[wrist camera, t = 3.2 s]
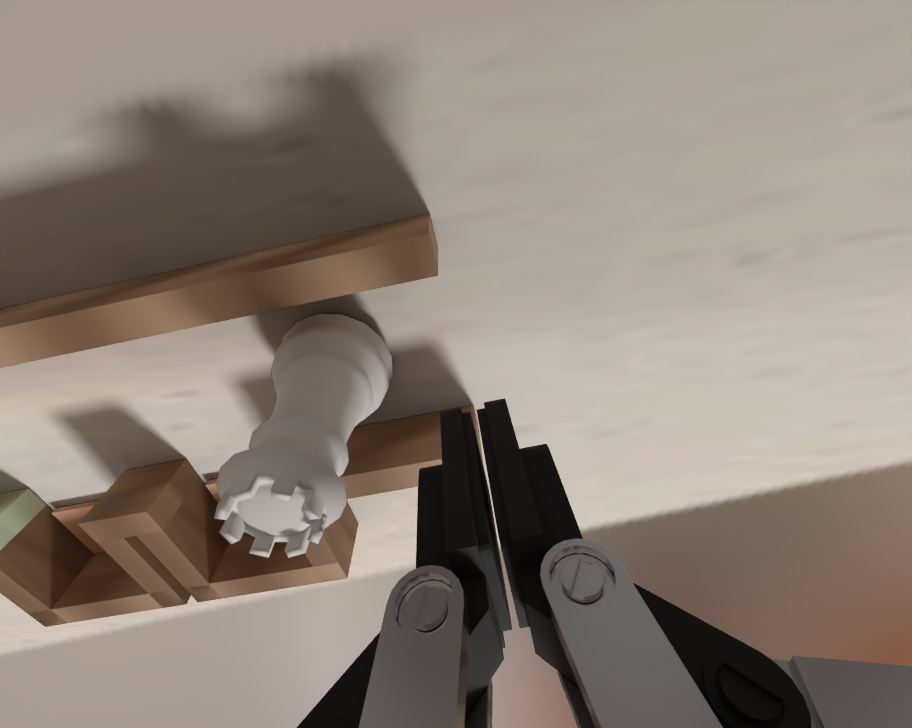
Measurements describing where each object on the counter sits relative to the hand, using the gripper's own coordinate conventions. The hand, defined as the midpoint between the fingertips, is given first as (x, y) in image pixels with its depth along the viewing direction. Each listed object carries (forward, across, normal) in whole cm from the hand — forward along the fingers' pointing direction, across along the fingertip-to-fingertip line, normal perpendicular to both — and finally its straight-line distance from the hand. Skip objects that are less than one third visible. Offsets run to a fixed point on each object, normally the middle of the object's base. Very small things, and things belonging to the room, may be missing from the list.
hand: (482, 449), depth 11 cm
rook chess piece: (+7, +5, 0) cm, 9 cm away
